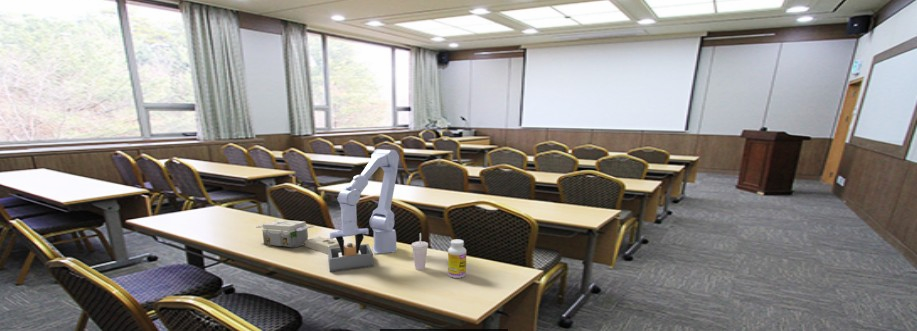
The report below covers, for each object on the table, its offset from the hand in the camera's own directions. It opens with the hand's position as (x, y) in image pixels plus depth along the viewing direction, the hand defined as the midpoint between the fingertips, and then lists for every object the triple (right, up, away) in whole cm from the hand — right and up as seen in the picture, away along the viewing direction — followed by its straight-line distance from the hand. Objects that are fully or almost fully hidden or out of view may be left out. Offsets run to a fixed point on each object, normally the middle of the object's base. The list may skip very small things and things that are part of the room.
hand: (350, 253), depth 149 cm
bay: (0, -4, 0) cm, 4 cm away
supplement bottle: (+42, -6, -10) cm, 44 cm away
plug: (0, -3, +1) cm, 3 cm away
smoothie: (+28, -5, -4) cm, 29 cm away
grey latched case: (-37, -1, +24) cm, 44 cm away
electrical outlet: (-17, -2, +18) cm, 24 cm away
